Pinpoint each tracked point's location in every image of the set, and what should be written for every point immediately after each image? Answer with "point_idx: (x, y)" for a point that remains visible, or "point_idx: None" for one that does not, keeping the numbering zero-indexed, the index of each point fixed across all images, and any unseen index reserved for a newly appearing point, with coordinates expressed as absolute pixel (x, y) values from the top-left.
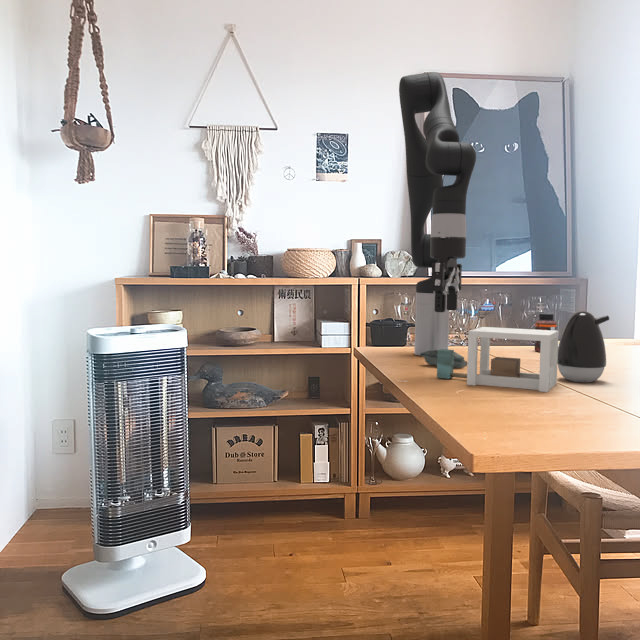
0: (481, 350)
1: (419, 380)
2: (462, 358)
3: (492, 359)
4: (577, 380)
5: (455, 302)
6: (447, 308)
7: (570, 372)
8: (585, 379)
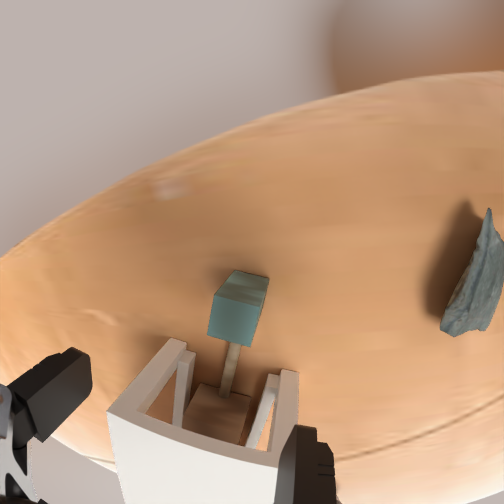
0: (276, 415)
1: (191, 226)
2: (449, 333)
3: (183, 417)
4: None
5: (278, 488)
6: (295, 430)
7: None
8: None
